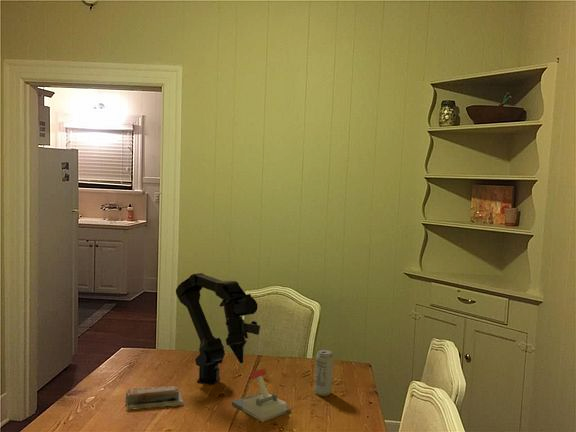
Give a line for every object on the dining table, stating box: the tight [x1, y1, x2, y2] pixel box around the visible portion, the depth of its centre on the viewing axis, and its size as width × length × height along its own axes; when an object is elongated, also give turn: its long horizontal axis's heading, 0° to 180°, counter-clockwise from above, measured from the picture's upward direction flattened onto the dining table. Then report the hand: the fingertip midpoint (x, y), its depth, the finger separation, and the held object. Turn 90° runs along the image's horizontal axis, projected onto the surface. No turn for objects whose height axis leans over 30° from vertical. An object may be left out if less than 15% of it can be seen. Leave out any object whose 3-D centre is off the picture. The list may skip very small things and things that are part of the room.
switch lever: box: [249, 367, 274, 403], centre depth 172 cm, size 2×5×10 cm
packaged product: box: [125, 385, 184, 409], centre depth 175 cm, size 18×5×10 cm
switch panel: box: [231, 392, 292, 423], centre depth 174 cm, size 16×12×5 cm
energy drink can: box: [314, 349, 334, 397], centre depth 188 cm, size 6×6×15 cm
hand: (241, 362), depth 182 cm, fingers closed
